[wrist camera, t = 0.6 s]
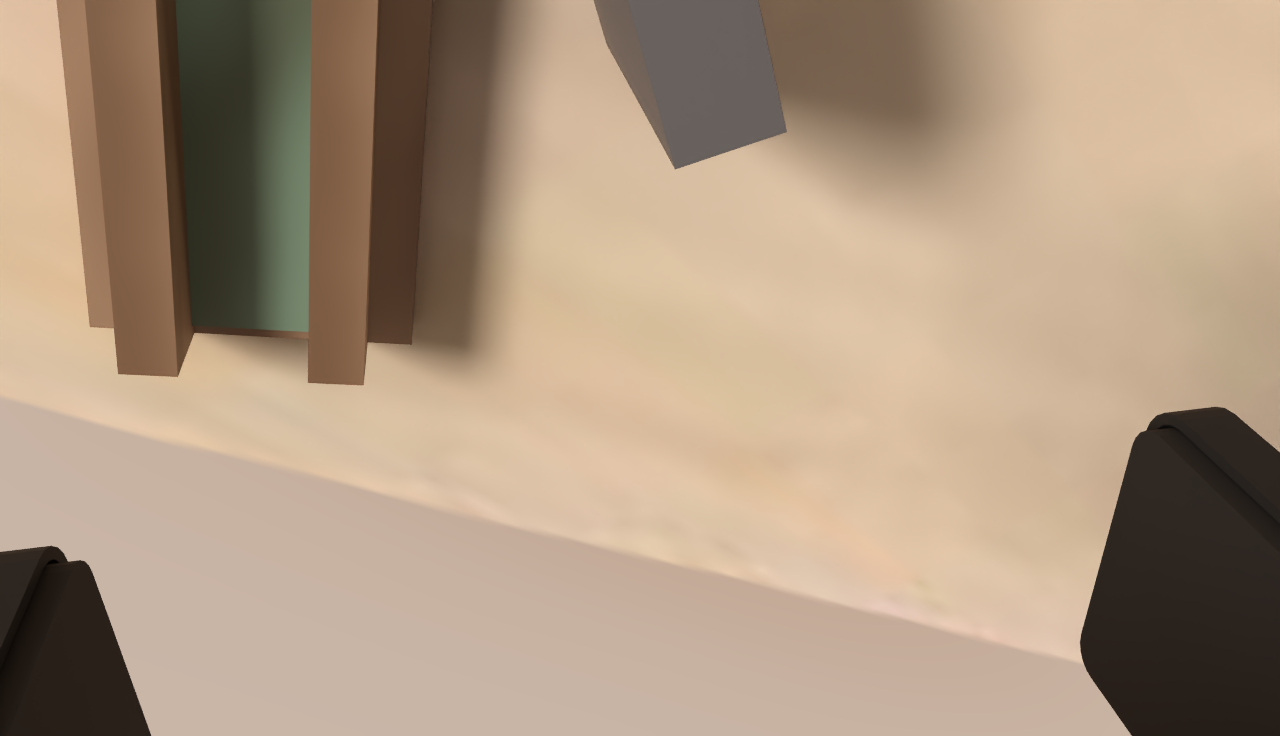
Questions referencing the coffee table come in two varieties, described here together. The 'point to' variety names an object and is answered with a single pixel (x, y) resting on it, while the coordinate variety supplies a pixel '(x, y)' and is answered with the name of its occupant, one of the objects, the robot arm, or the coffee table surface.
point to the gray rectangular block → (696, 72)
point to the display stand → (248, 172)
